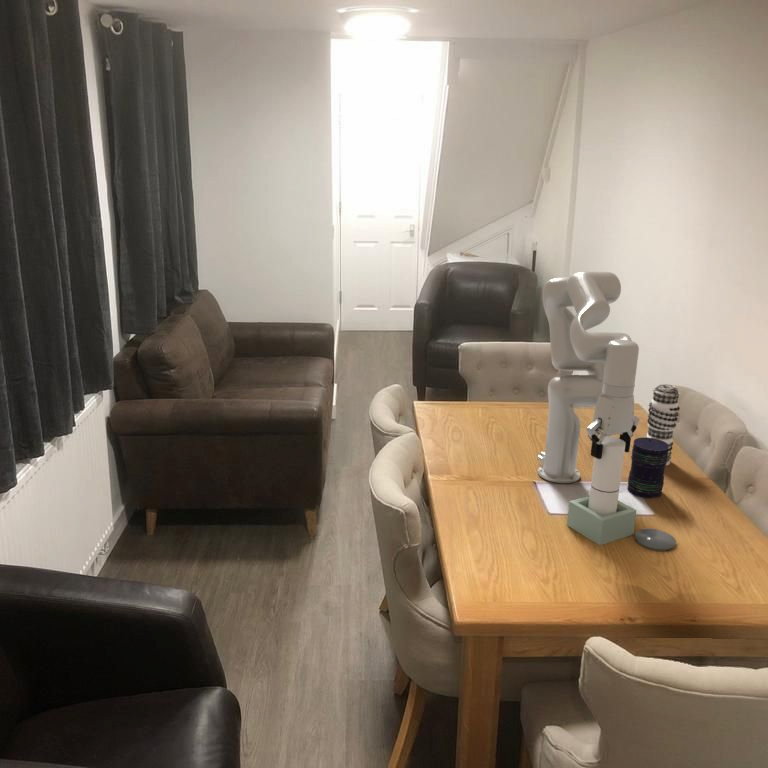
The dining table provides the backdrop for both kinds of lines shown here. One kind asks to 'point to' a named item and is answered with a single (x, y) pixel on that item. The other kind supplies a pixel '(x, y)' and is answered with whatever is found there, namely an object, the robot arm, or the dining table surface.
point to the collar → (601, 521)
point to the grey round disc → (655, 539)
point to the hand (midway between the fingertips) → (609, 453)
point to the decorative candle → (663, 415)
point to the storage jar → (647, 467)
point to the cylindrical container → (607, 477)
